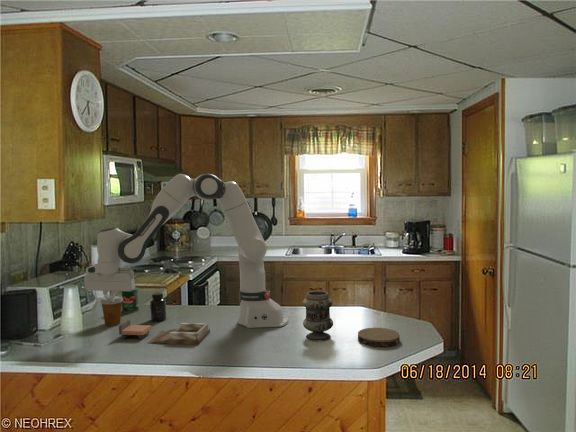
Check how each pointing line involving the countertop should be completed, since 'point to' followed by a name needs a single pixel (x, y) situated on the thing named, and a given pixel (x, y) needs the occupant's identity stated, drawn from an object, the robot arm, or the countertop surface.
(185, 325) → the loading dock
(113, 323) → the disposable coffee cup
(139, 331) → the trolley
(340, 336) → the countertop surface
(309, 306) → the apothecary jar
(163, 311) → the supplement bottle
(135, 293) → the canned tomato
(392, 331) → the brown round disc
